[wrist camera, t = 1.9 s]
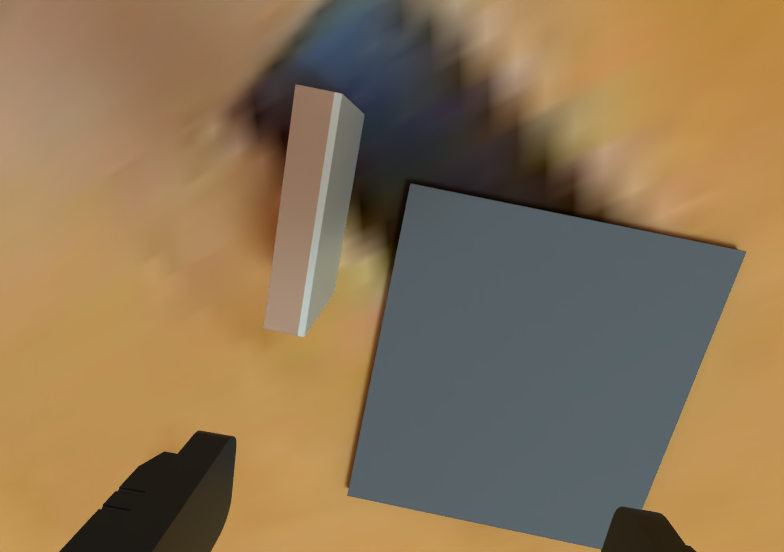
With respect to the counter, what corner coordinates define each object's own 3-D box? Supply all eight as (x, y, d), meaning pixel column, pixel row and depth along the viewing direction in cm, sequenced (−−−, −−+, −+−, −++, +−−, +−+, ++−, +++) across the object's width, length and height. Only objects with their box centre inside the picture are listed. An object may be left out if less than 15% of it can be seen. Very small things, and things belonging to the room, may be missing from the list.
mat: (410, 183, 24) (410, 183, 23) (738, 249, 24) (746, 251, 23) (348, 489, 29) (347, 495, 28) (619, 546, 29) (623, 554, 28)
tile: (331, 107, 23) (295, 84, 17) (364, 114, 23) (342, 93, 17) (304, 286, 26) (263, 328, 19) (334, 292, 26) (304, 337, 19)
